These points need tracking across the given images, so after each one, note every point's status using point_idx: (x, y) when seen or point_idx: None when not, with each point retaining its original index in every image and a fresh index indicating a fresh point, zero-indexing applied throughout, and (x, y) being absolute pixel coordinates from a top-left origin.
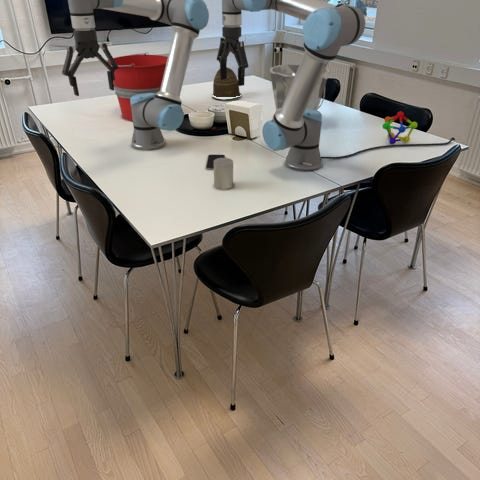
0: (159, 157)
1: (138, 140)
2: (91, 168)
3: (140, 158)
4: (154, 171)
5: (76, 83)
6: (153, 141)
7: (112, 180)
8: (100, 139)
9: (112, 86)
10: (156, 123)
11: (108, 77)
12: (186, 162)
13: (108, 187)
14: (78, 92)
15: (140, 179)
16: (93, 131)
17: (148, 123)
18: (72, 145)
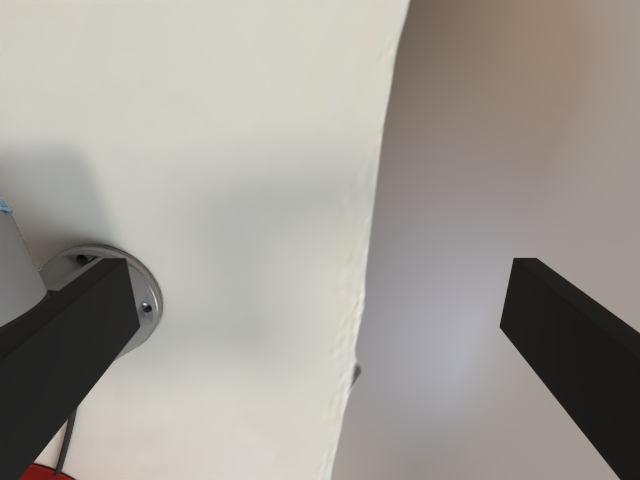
0: (109, 166)
1: (133, 292)
2: (351, 219)
3: (175, 200)
4: (174, 47)
5: (618, 334)
6: (82, 266)
7: (340, 71)
8: (230, 415)
9: (95, 276)
10: (4, 216)
11: (52, 410)
12: (25, 49)
13: (380, 16)
14: (533, 274)
15: (251, 7)
16: (224, 476)
17: (44, 285)
18: (319, 415)
